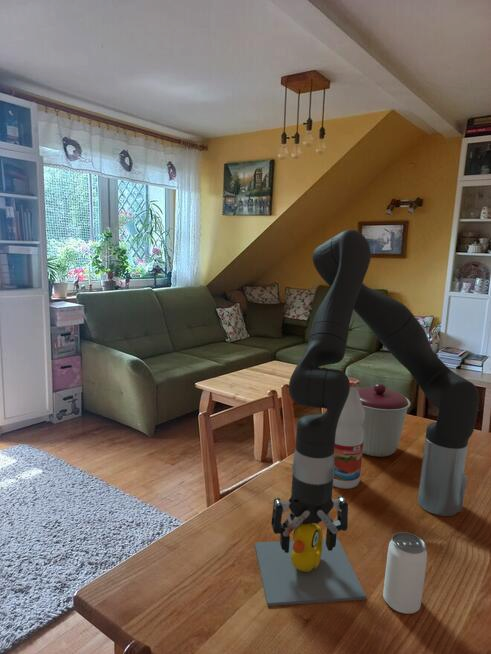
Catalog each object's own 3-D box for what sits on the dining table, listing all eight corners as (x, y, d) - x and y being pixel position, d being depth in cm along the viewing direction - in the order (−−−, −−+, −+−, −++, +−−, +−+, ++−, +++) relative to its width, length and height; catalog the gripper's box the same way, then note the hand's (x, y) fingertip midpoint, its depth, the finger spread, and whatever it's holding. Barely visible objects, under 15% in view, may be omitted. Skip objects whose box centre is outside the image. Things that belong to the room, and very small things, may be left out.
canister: (357, 431, 153) (362, 371, 149) (412, 447, 143) (419, 383, 139) (333, 450, 139) (339, 384, 135) (393, 470, 129) (401, 399, 124)
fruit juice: (345, 468, 128) (354, 373, 123) (367, 485, 120) (377, 384, 114) (317, 474, 125) (324, 376, 119) (336, 492, 116) (345, 387, 111)
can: (377, 587, 85) (383, 530, 83) (411, 586, 86) (418, 529, 83) (391, 616, 79) (398, 555, 77) (427, 615, 80) (435, 554, 77)
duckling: (305, 592, 83) (309, 544, 81) (279, 579, 86) (282, 532, 83) (328, 555, 92) (332, 511, 90) (304, 545, 95) (307, 502, 93)
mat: (337, 540, 98) (337, 538, 98) (365, 599, 82) (366, 596, 82) (254, 545, 96) (254, 542, 96) (267, 606, 80) (267, 603, 80)
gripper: (279, 484, 80) (274, 564, 84) (357, 481, 82) (349, 560, 85) (271, 463, 88) (267, 538, 91) (343, 460, 89) (337, 534, 93)
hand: (307, 548), depth 88 cm, fingers open, 8 cm apart
